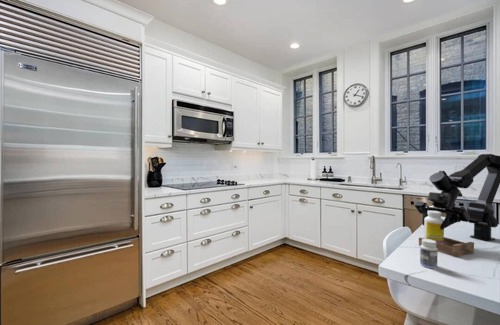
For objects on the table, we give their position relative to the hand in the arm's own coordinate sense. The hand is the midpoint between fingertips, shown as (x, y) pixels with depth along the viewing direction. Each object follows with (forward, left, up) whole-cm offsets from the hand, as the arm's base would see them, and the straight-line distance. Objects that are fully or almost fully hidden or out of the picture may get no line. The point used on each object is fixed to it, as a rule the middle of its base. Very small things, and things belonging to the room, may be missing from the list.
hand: (431, 226), depth 105 cm
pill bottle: (+21, +13, -8) cm, 26 cm away
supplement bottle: (-1, 0, -7) cm, 7 cm away
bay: (-1, +4, -8) cm, 9 cm away
